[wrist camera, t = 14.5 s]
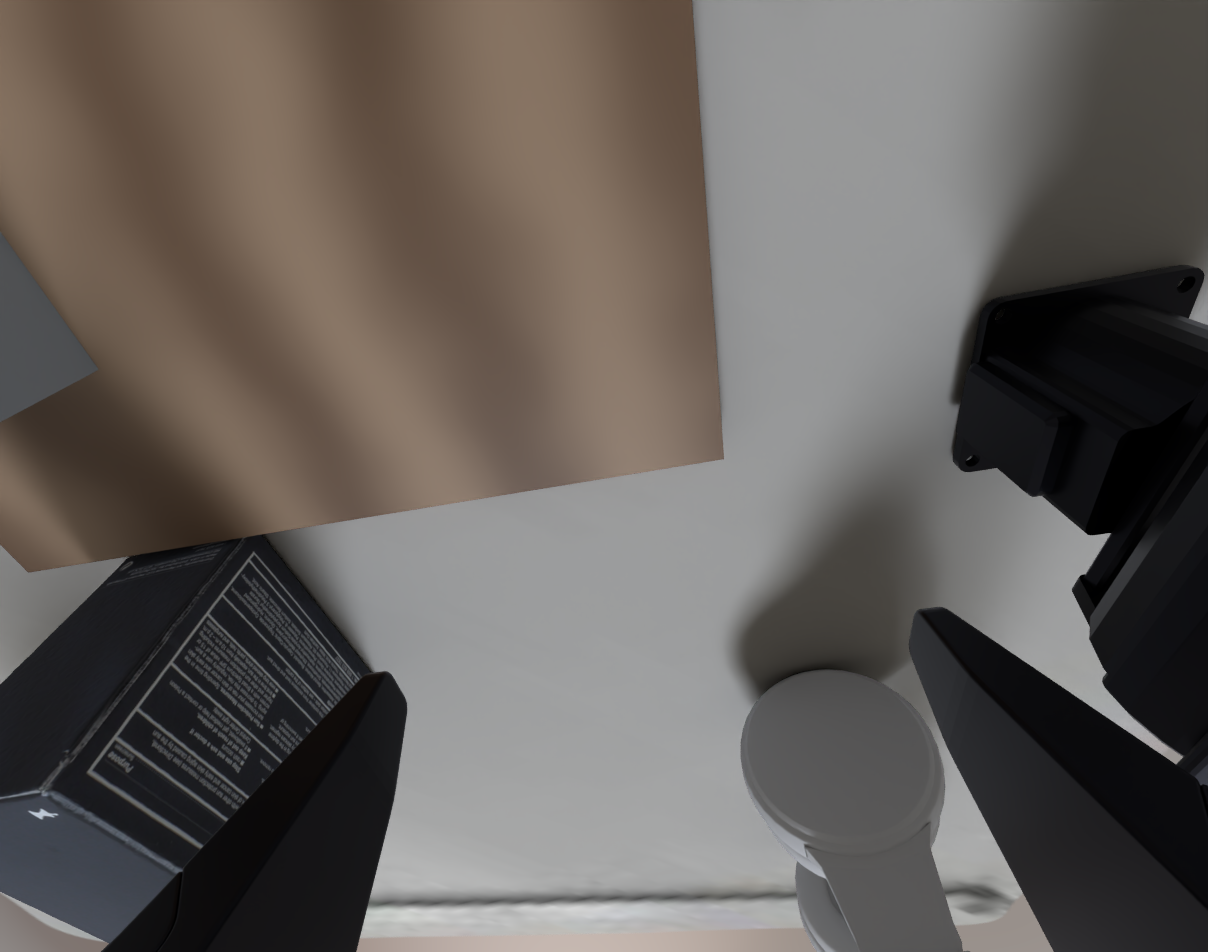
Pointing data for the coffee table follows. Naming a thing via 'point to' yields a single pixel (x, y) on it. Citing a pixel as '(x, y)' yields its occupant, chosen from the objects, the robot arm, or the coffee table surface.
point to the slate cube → (32, 341)
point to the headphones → (852, 810)
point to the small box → (156, 724)
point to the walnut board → (349, 259)
